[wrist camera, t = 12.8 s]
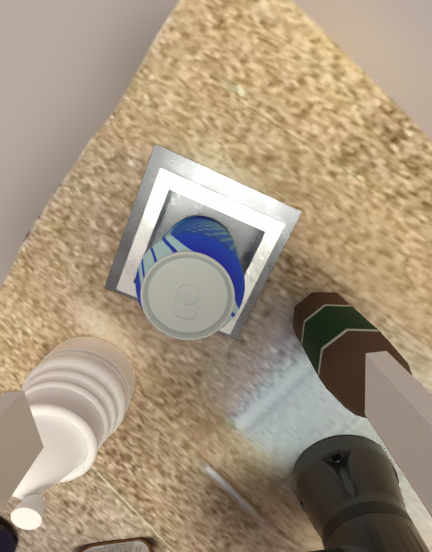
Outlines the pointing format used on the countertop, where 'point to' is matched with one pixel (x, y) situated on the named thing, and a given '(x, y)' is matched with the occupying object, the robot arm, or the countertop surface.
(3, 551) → the grenade
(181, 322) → the beer can
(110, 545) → the tin
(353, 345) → the beer bottle
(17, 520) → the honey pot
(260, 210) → the silver square tray
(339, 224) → the countertop surface
